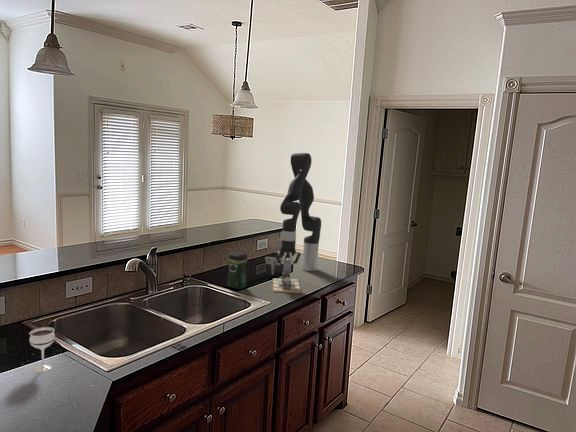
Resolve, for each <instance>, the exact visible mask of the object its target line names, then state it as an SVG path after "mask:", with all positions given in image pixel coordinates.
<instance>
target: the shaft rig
mask: <svg viewBox="0 0 576 432" xmlns="http://www.w3.org/2000/svg"><path fill="white" fill-rule="evenodd" d="M290 275H291V273H283V271H282V273H281V278H272V292H273V293H293V294H297V293H298V294H301V288H300V284H299V279H298V278H297V279H295V278H291V277H290Z"/></svg>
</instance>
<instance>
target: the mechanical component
mask: <svg viewBox="0 0 576 432" xmlns="http://www.w3.org/2000/svg"><path fill="white" fill-rule="evenodd" d="M279 259H280V260H282V257H281V258H280V257H279ZM264 261H265V263H266V265H270V268H271V275H272V276H274V275H275V268H276V266H281V263H278V261H277V258H276V256H275V257H273V256H266V257H264Z"/></svg>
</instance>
